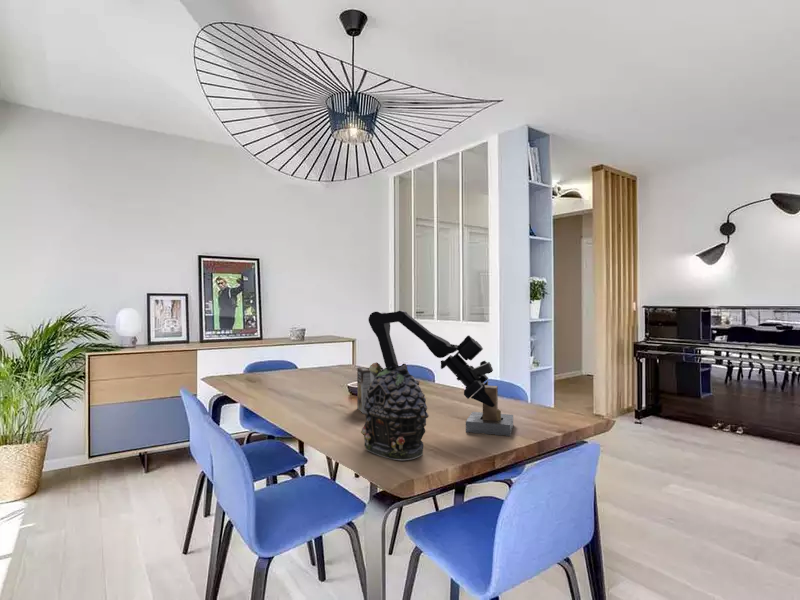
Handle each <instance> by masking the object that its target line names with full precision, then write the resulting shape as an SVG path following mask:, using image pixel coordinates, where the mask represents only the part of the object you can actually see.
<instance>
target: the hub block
mask: <svg viewBox="0 0 800 600" xmlns="http://www.w3.org/2000/svg"><path fill="white" fill-rule="evenodd" d="M513 428H514V414H506V413H501V420H499V421H493V420H483V411H482V412H480V411H472V412H471V413H470V414H469V416H468V417H467V419H466V421H465V433H469V432H472V433H471V434H480V433H485V434H484V435H491V434H495V435H494V436H502V435H506V437H511V434H512V432H513Z"/></svg>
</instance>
